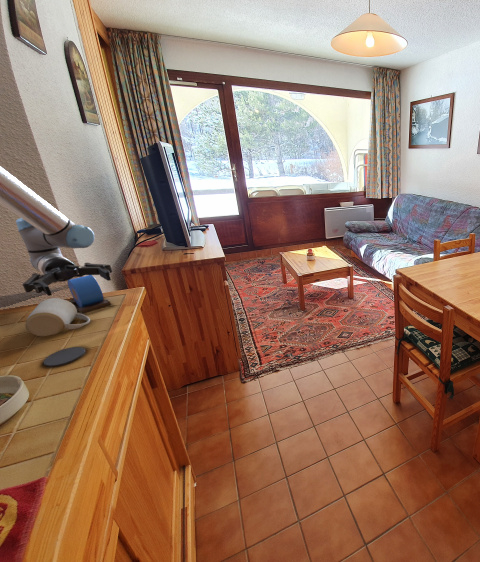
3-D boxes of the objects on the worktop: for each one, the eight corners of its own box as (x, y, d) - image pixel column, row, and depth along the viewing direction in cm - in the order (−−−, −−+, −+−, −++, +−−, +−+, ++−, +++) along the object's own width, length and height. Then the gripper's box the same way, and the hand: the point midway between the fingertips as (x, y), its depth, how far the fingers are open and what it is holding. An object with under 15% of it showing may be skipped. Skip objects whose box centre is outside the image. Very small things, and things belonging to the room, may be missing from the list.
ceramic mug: (29, 342, 75) (16, 314, 72) (44, 326, 81) (32, 299, 78) (85, 332, 79) (75, 306, 76) (95, 318, 86) (86, 293, 83)
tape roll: (84, 311, 87) (74, 284, 84) (74, 302, 91) (64, 276, 88) (106, 305, 91) (97, 279, 88) (95, 296, 95) (87, 271, 92)
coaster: (35, 366, 67) (34, 363, 66) (67, 347, 73) (66, 345, 73) (63, 368, 66) (62, 366, 66) (93, 350, 72) (92, 348, 72)
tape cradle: (112, 307, 91) (110, 301, 91) (83, 316, 86) (81, 310, 86) (99, 298, 97) (96, 292, 96) (71, 306, 92) (68, 300, 91)
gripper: (107, 268, 113) (132, 281, 102) (7, 291, 93) (24, 310, 83) (101, 248, 110) (126, 260, 99) (-5, 268, 91) (12, 285, 80)
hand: (80, 283), depth 91 cm, fingers open, 13 cm apart
